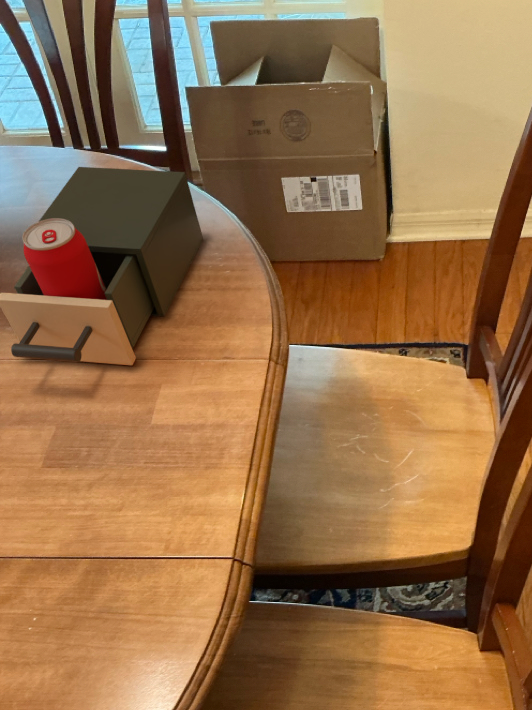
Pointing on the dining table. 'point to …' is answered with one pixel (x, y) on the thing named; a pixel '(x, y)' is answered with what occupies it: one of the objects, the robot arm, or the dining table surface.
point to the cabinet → (135, 222)
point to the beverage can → (62, 260)
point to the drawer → (82, 316)
